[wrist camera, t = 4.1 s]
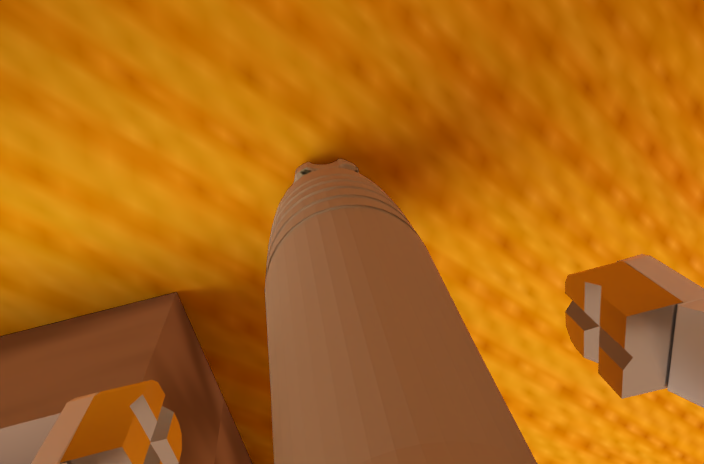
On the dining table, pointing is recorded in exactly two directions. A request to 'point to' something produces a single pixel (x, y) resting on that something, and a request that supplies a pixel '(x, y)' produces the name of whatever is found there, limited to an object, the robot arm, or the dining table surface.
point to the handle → (370, 338)
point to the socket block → (114, 377)
